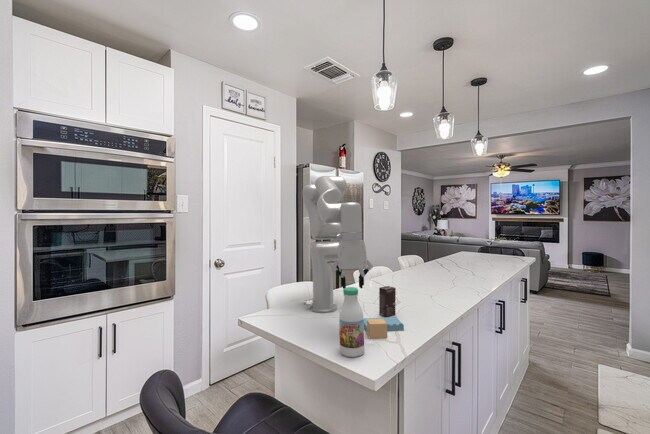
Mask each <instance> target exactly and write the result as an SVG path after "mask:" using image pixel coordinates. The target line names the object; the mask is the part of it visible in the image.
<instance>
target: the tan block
mask: <svg viewBox="0 0 650 434" xmlns="http://www.w3.org/2000/svg"><path fill="white" fill-rule="evenodd" d="M366 334H367V335H368V337H369V339H387V338H388V331H387V323H386V322H385V320H384V319H367V332H366Z"/></svg>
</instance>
